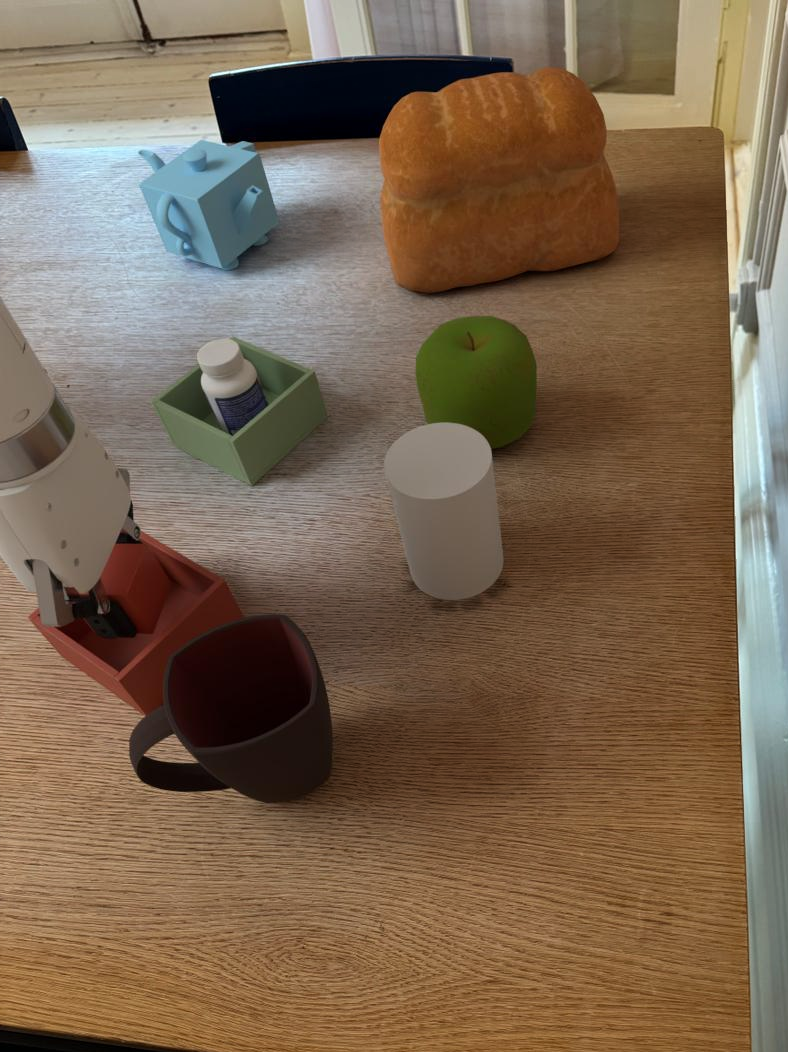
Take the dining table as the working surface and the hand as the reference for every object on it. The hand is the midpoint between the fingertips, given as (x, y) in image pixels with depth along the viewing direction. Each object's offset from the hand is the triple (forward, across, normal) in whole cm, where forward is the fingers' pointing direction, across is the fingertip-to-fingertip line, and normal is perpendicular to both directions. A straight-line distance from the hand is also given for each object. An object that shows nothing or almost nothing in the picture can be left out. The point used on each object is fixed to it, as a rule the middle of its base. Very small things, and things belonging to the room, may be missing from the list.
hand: (129, 603), depth 70 cm
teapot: (+5, -59, -10) cm, 60 cm away
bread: (+5, -56, +24) cm, 62 cm away
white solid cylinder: (+5, -9, +25) cm, 27 cm away
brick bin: (+5, 0, 0) cm, 5 cm away
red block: (+1, 0, 0) cm, 1 cm away
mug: (+5, +12, +13) cm, 18 cm away
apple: (+5, -26, +25) cm, 37 cm away
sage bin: (+5, -25, +2) cm, 26 cm away
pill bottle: (+5, -25, +2) cm, 26 cm away
